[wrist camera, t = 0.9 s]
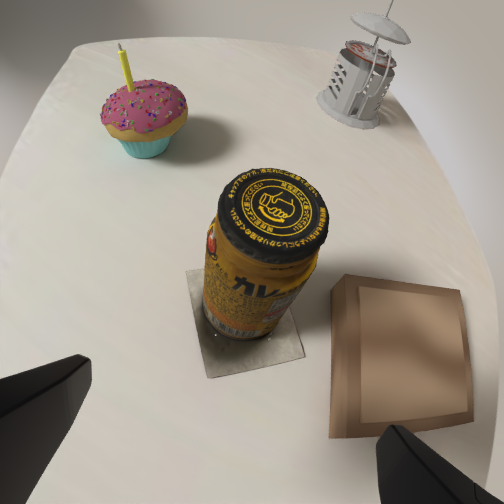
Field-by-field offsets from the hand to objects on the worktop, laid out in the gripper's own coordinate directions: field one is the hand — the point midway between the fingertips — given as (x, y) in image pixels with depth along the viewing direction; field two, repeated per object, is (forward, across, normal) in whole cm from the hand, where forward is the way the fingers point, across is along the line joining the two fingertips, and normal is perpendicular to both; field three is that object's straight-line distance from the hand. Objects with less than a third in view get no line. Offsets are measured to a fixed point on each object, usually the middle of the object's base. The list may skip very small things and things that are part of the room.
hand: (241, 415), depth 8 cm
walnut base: (+14, -13, +5) cm, 20 cm away
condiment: (+16, 0, +4) cm, 16 cm away
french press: (+39, -8, -18) cm, 44 cm away
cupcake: (+27, +14, -6) cm, 31 cm away
